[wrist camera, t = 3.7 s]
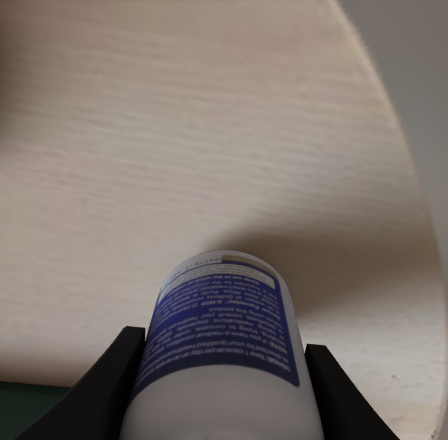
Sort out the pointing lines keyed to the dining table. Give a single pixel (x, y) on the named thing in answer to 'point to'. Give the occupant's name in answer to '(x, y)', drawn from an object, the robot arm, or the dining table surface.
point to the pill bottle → (223, 358)
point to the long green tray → (24, 406)
